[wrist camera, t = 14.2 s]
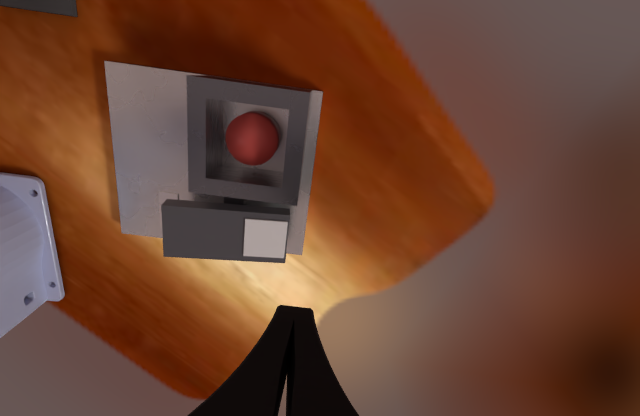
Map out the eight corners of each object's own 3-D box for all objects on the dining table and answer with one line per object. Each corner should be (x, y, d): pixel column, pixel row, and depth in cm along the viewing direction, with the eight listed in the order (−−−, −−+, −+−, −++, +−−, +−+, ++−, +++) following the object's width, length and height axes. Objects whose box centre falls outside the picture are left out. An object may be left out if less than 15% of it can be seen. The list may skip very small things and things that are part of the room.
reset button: (278, 162, 20) (275, 168, 18) (231, 156, 20) (224, 162, 18) (282, 114, 19) (279, 117, 17) (233, 107, 19) (226, 110, 17)
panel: (302, 249, 23) (298, 280, 19) (128, 227, 22) (92, 256, 19) (322, 91, 19) (322, 94, 16) (113, 61, 19) (63, 57, 15)
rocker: (284, 254, 21) (285, 264, 20) (169, 247, 20) (163, 257, 19) (289, 208, 20) (290, 216, 19) (166, 198, 19) (160, 206, 18)
